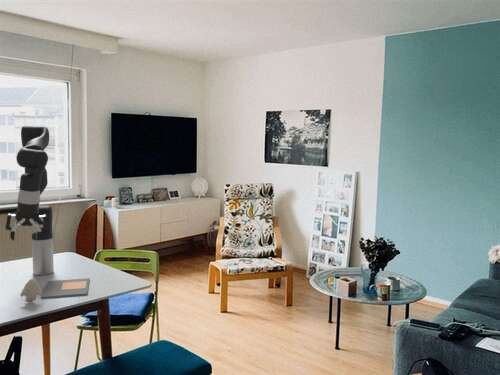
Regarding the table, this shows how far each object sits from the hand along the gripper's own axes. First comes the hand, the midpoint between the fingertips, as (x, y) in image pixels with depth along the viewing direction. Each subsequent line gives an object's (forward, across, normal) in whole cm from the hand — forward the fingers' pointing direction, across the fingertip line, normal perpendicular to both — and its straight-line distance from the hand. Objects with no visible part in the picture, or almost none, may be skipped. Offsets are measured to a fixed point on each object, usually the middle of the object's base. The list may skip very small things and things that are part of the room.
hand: (25, 239), depth 178 cm
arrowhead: (+26, -4, +2) cm, 27 cm away
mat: (+27, -19, -9) cm, 34 cm away
